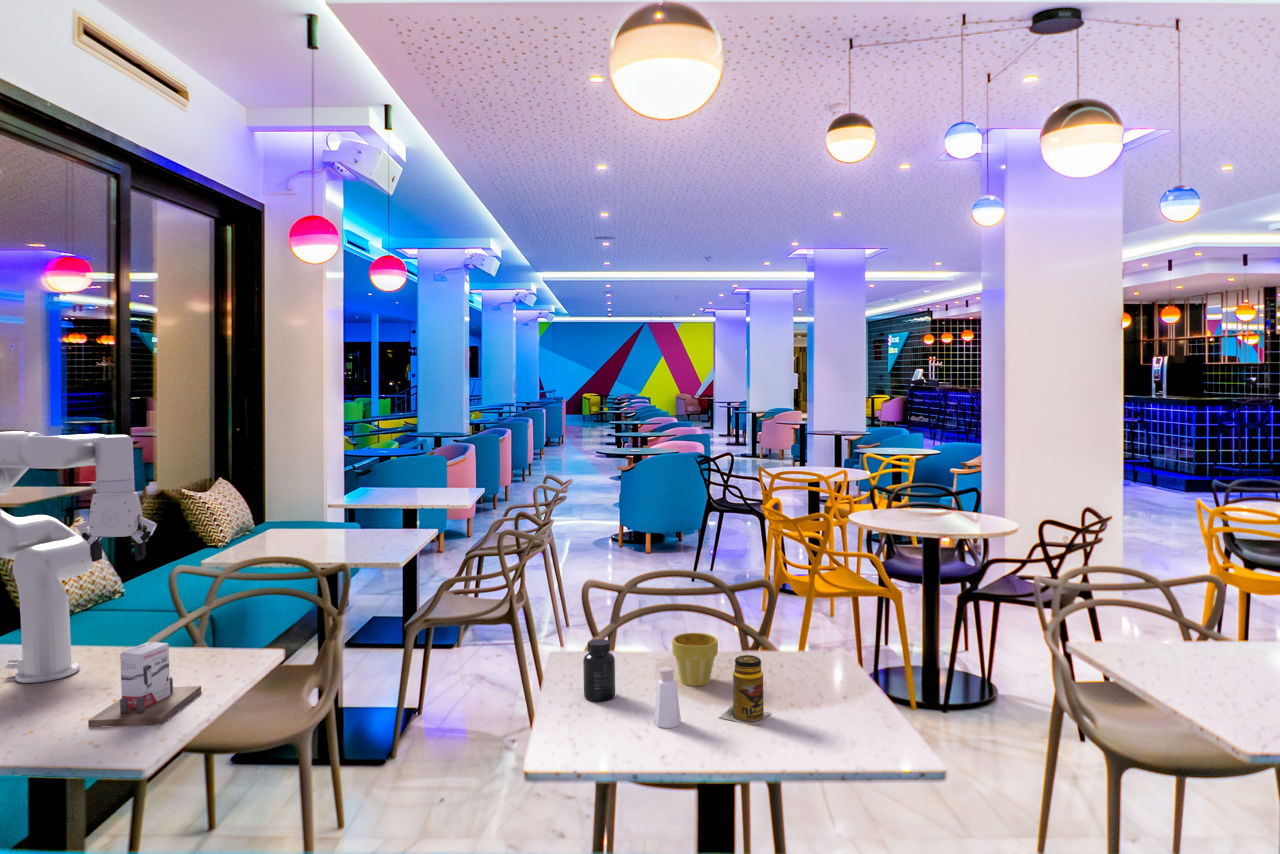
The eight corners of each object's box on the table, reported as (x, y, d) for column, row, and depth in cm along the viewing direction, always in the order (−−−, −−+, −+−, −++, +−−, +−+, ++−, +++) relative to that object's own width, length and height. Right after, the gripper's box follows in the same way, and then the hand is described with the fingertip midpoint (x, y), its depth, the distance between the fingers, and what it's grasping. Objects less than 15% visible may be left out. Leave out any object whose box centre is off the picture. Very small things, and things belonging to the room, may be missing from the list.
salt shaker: (679, 717, 166) (679, 663, 166) (682, 728, 161) (681, 672, 161) (653, 718, 166) (652, 664, 166) (654, 729, 161) (653, 673, 160)
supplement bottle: (583, 691, 182) (582, 637, 181) (614, 690, 182) (614, 636, 182) (583, 703, 175) (582, 647, 174) (616, 702, 175) (615, 646, 175)
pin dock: (88, 727, 166) (87, 705, 165) (136, 695, 184) (135, 675, 183) (160, 724, 167) (160, 702, 167) (201, 692, 185) (200, 672, 184)
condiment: (757, 726, 162) (757, 666, 161) (718, 718, 166) (717, 659, 165) (770, 713, 168) (770, 655, 168) (732, 706, 172) (731, 649, 172)
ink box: (141, 710, 171) (139, 654, 170) (120, 709, 171) (118, 653, 171) (171, 695, 179) (169, 641, 179) (151, 694, 180) (149, 640, 179)
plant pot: (726, 685, 184) (725, 642, 184) (684, 692, 181) (683, 648, 180) (705, 671, 194) (705, 630, 194) (665, 677, 190) (665, 635, 190)
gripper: (67, 490, 189) (70, 564, 189) (145, 488, 190) (148, 562, 191) (86, 486, 196) (89, 557, 197) (162, 484, 197) (164, 555, 198)
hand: (118, 559), depth 194 cm, fingers open, 9 cm apart
